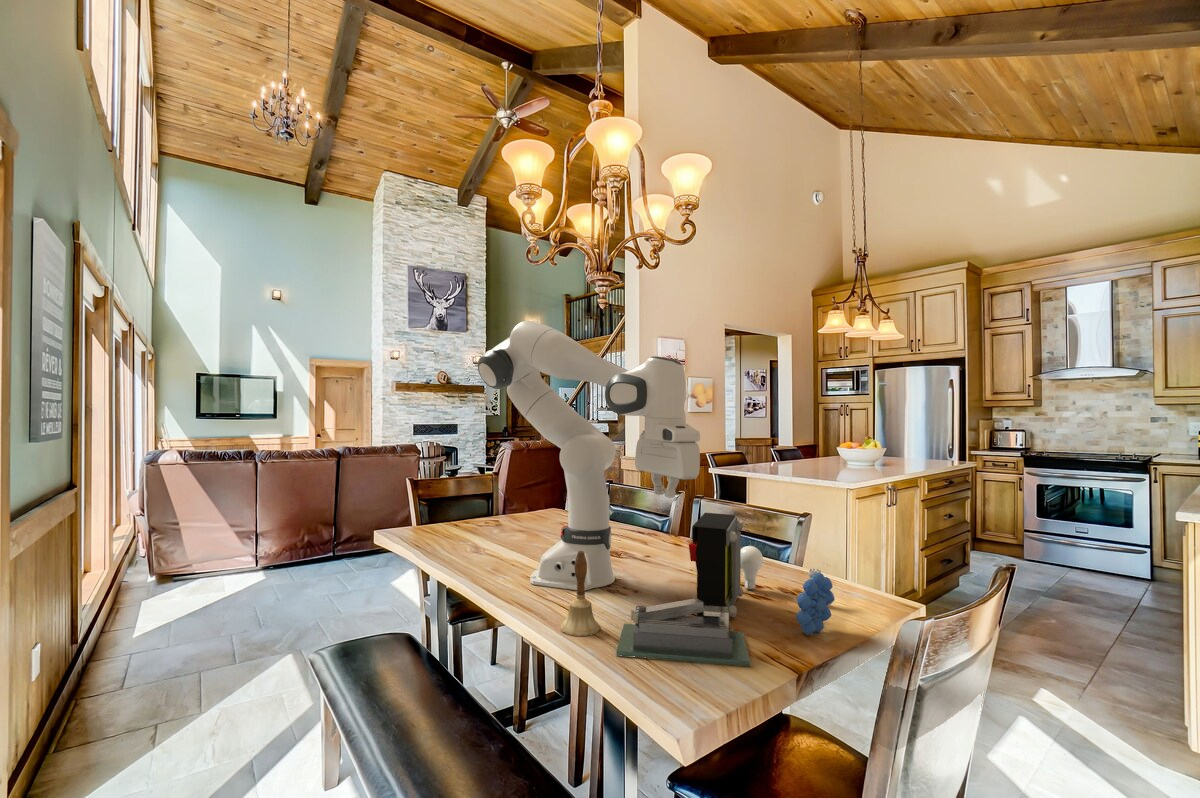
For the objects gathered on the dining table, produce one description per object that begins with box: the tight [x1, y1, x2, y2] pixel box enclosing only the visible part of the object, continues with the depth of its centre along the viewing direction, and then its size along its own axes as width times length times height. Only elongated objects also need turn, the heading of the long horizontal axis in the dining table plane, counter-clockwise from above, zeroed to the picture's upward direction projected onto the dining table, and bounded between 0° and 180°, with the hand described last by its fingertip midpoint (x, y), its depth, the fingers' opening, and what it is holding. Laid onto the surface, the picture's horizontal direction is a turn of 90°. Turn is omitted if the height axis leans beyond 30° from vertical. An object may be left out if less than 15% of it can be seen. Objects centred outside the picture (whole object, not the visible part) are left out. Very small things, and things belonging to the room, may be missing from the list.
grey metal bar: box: [630, 597, 703, 624], centre depth 109 cm, size 16×2×3 cm, turn 116°
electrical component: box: [688, 512, 744, 618], centre depth 127 cm, size 18×10×20 cm, turn 160°
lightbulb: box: [741, 545, 764, 591], centre depth 139 cm, size 6×6×11 cm
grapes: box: [795, 573, 835, 636], centre depth 113 cm, size 12×7×12 cm, turn 127°
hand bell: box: [559, 551, 601, 637], centre depth 113 cm, size 8×8×16 cm
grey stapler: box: [615, 605, 751, 668], centre depth 105 cm, size 24×13×8 cm, turn 81°
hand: (664, 495), depth 117 cm, fingers open, 3 cm apart
